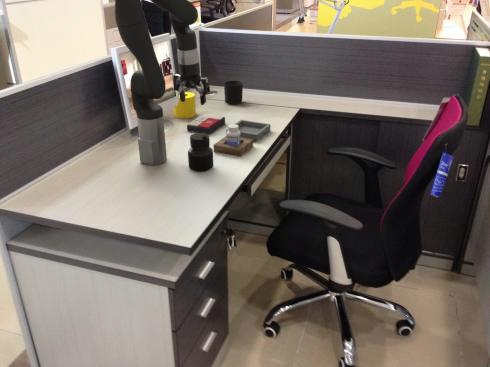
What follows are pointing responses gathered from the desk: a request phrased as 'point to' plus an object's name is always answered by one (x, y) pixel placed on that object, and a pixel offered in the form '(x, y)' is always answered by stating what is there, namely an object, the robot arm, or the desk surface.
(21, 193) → the desk surface
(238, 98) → the pen holder
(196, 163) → the ink bottle
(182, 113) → the yellow piece
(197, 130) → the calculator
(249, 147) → the tray
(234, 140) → the pill bottle
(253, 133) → the tray
